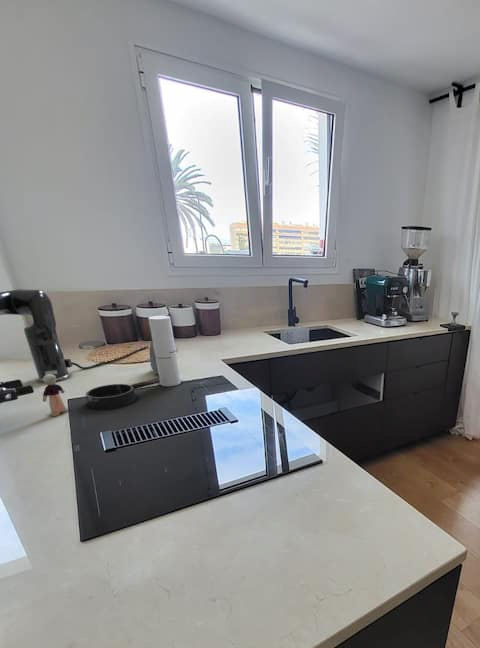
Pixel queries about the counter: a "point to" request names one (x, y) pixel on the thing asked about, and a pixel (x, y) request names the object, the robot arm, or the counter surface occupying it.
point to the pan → (110, 396)
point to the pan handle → (145, 383)
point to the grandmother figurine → (53, 395)
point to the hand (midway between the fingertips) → (26, 385)
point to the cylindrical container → (164, 350)
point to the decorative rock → (153, 359)
